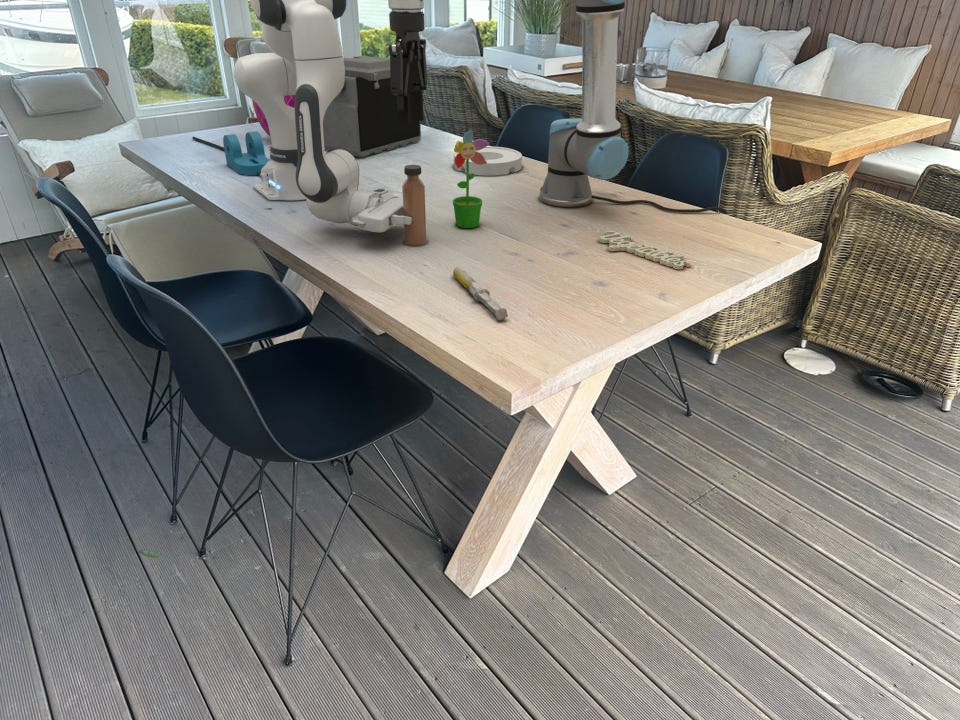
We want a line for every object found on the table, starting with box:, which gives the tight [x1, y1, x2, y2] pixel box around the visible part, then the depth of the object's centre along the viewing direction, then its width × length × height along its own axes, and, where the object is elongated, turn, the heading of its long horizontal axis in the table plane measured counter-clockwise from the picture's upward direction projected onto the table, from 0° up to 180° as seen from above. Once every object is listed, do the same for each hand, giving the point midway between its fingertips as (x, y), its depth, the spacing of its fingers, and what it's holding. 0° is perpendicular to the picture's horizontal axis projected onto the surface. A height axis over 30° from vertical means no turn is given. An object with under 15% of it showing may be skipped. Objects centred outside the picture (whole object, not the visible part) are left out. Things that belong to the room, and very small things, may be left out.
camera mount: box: [222, 131, 270, 176], centre depth 226 cm, size 18×10×10 cm, turn 35°
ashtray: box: [453, 145, 523, 177], centre depth 234 cm, size 23×23×4 cm
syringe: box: [452, 266, 509, 321], centre depth 145 cm, size 25×4×3 cm, turn 21°
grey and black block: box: [323, 55, 422, 159], centre depth 250 cm, size 37×22×30 cm, turn 144°
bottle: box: [401, 175, 427, 247], centre depth 168 cm, size 5×5×18 cm
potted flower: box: [452, 129, 491, 229], centre depth 177 cm, size 9×8×25 cm
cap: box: [403, 164, 422, 176], centre depth 163 cm, size 4×4×2 cm
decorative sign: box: [599, 230, 690, 270], centre depth 167 cm, size 26×1×10 cm
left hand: (417, 216), depth 169 cm, fingers closed on bottle, 5 cm apart
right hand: (411, 122), depth 158 cm, fingers open, 6 cm apart
